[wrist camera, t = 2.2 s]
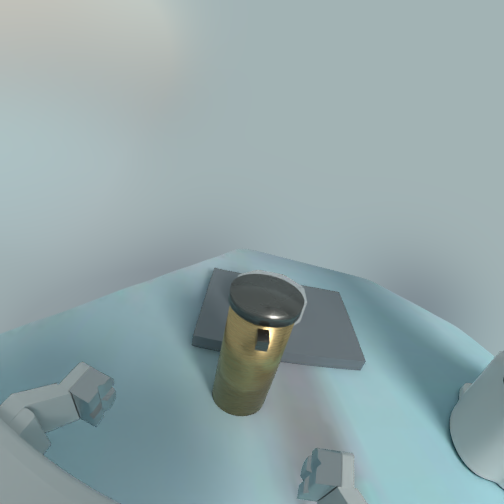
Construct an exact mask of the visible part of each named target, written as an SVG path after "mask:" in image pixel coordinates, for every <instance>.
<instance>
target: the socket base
mask: <svg viewBox="0 0 504 504" xmlns="http://www.w3.org/2000/svg"><path fill="white" fill-rule="evenodd" d="M246 274H265V275H270V276H274V277H277V278H280V279H282V280H285V281H287V282H288V283H290V284H292V285H293V286H295V287H296V288H297V289H298V290H299V291H300V292H301V294H302V295H303V297H304V306H303V309H302V312H301V315H300V317H299V319H298V320H297V321H296V322H295V323H294V326H293V329H292V332H291V334H290V337H289V340H288V342H287V345H286V348H285V350H284V353H283V356H282V358H281V362H288V363H295V364H303V365H312V366H321V367H330V368H341V369H353V370H361V368H362V367H363V365H364V363H365V362H366V361H365V358H364V356H363V353H362V350H361V348H360V345H359V342H358V340H357V337H356V334H355V332H354V329H353V326H352V324H351V321H350V319H349V316H348V314H347V311H346V308H345V306H344V303H343V301H342V299H341V296H340V294H339V292H335V291H330V290H324V289H319V288H313V287H308V286H303V285H299V284H298V283H296V282H294V281H293V280H291V279H290V278H288V277H287V276H285V275H284V276H283V275H282V274H277V273H272V272H267V271H262V270H255V271H251V272H247V273H243V274H242V273H237V272H232V271H227V270H222V269H217V268H214V271H213V274H212V277H211V280H210V283H209V286H208V289H207V293H206V296H205V299H204V302H203V305H202V308H201V311H200V315H199V318H198V321H197V324H196V327H195V331H194V334H193V340H192V345H193V346H198V347H203V348H207V349H212V350H217V351H220V350H221V345H222V341H223V336H224V331H225V326H226V321H227V316H228V311H229V306H230V305H229V301H228V297H229V292H230V287H231V283H232V282H233V280H234V279H236V278H237V277H239V276H242V275H246Z"/></svg>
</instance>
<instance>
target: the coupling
mask: <svg viewBox="0 0 504 504" xmlns="http://www.w3.org/2000/svg"><path fill="white" fill-rule="evenodd" d="M228 301H229V305H230V306H229V311H228V316H227V321H226V326H225V331H224V336H223V341H222V345H221V350H220V355H219V361H218V366H217V371H216V376H215V381H214V386H213V391H212V395H213V399H214V401H215V403H216V404H217V406H218V407H219V408H220V409H222V410H223V411H225V412H227V413H229V414H232V415H236V416H248V415H251V414H254V413H256V412H257V411H259V410H260V409H261V407H262V405H263V403H264V401H265V398H266V396H267V393H268V391H269V389H270V386H271V384H272V381H273V379H274V376H275V374H276V371H277V368H278V366H279V363H280V361H281V358H282V356H283V353H284V350H285V348H286V345H287V342H288V340H289V337H290V334H291V332H292V329H293V326H294V323H295V322H296V321H297V320H298V319H299V317H300V315H301V312H302V309H303V306H304V297H303V295H302V294H301V292H300V291H299V290H298V289H297V288H296V287H295V286H293V285H292V284H290V283H288V282H287V281H285V280H282V279H280V278H277V277H274V276H270V275H265V274H246V275H242V276H239V277H237V278H236V279H234V280H233V282H232V283H231V287H230V292H229V297H228Z"/></svg>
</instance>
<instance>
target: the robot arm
mask: <svg viewBox="0 0 504 504" xmlns="http://www.w3.org/2000/svg"><path fill="white" fill-rule="evenodd" d="M113 385H114V379H113V378H111V377H109V376H107V375H105V374H104V373H102V372H100V371H98V370H96V369H94V368H93V367H91V366H89V365H88V364H86V363H84V362H81V363H79V364H78V365H77V366H76V367H75V368H74V369H73V370H72V371H71V372H70V373H69V374H68V375H67V376H66V377H65V378H64V379H63V380H62V381H61V382H60V383H59V385H58V384H56V383H54V384H51V385H47V386H43V387H39V388H35V389H31V390H26V391H22V392H18V393H13V394H11V395H10V396H9V397H8V398H7V399H6V400H5V401H4V402H3V403H2V404H1V405H0V504H120V503H119V502H117V501H115V500H113V499H111V498H109V497H107V496H105V495H104V494H102V493H100V492H98V491H96V490H95V489H93V488H91V487H90V486H88V485H86V484H85V483H83V482H81V481H80V480H78V479H77V478H75V477H74V476H72V475H71V474H69V473H68V472H66V471H65V470H63V469H62V468H60V467H59V466H57V465H56V464H55V463H53V462H52V461H51V460H49V459H48V458H47V457H45V456H44V454H45V452H46V451H47V450H48V448H49V447H50V446H51V443H50V440H49V439H48V437H47V436H46V434H45V433H47V432H49V431H52V430H54V429H57V428H59V427H62V426H64V425H67V424H69V423H72V422H74V421H76V420H79V419H80V418H81V419H82V420H84V421H86V422H87V423H89V424H91V425H93V426H95V427H97V426H98V424H99V423H100V422H101V420H102V419H103V418H104V411H107V410H109V409H110V408H111V407H112V405H113V403H114V401H115V397H116V391H115V389H114V388H113V387H112V386H113ZM450 432H451V436H452V440H453V443H454V446H455V448H456V450H457V452H458V454H459V456H460V457H461V459H462V460H463V461H464V463H465V464H466V465H467V466H468V467H469V468H470V469H471V470H472V471H473V472H474V473H476V474H477V475H479V476H480V477H482V478H484V479H487V480H490V481H493V482H496V483H497V484H498V485H500V486H501V487H502V488H503V489H504V351H500V352H499V353H498V354H497V355H496V356H495V357H494V359H493V360H492V361H491V362H490V364H489V365H488V366H487V367H486V368H485V370H484V371H483V372H482V373H481V374H480V375H479V377H478V378H477V379H476V380H475V381H474V382H473V383H465V384H464V385H463V386H462V387H461V388H460V391H459V401H458V402H457V404H456V405H455V407H454V408H453V410H452V413H451V417H450ZM300 476H301V478H302V480H303V482H302V483H301V484H300V485H299V489H298V495H297V499H302V500H308V501H315V502H317V504H368V503H367V502H366V500H365V499H364V498H363V496H362V495H361V493H360V492H359V490H358V489H357V488H354V455H353V453H348V452H341V451H335V450H328V449H321V448H315V449H314V450H313V451H312V455H311V456H308V457H307V458H306V460H305V461H304V464H303V466H302V469H301V475H300Z"/></svg>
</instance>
